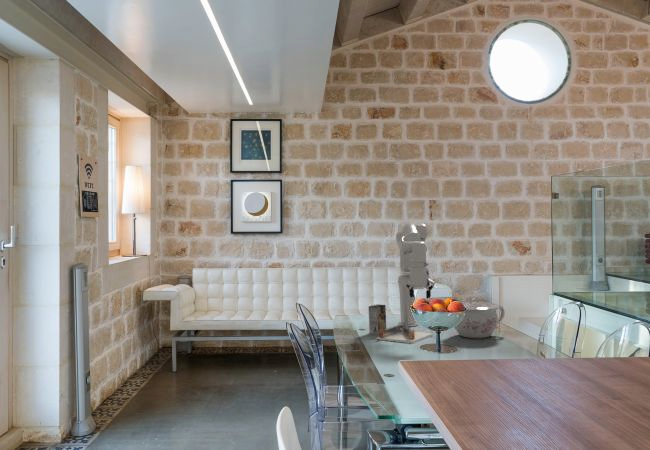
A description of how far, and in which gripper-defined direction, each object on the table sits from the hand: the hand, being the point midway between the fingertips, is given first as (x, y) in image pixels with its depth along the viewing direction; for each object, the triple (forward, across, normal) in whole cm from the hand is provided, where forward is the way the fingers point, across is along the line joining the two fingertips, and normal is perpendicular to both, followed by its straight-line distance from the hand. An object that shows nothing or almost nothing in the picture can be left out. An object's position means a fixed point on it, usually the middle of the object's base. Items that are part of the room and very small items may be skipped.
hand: (420, 297), depth 289 cm
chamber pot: (+24, -18, -28) cm, 41 cm away
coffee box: (+24, +34, -10) cm, 42 cm away
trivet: (+24, +14, -6) cm, 28 cm away
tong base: (+22, +20, -5) cm, 31 cm away
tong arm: (+22, +11, -6) cm, 26 cm away
